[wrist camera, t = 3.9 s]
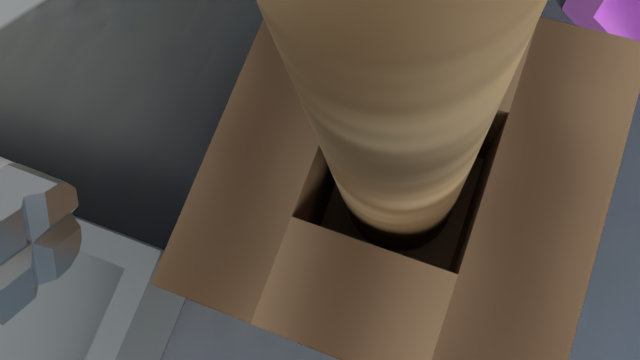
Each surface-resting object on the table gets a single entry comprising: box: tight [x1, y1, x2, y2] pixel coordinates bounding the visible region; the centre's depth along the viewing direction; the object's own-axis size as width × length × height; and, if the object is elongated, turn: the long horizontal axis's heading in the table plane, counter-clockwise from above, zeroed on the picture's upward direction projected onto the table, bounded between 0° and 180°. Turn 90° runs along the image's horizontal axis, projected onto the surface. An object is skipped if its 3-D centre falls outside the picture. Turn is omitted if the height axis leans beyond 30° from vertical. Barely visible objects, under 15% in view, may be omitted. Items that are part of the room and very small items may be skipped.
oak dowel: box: [256, 0, 547, 251], centre depth 14 cm, size 4×4×16 cm
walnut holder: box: [151, 17, 640, 360], centre depth 20 cm, size 12×12×6 cm
